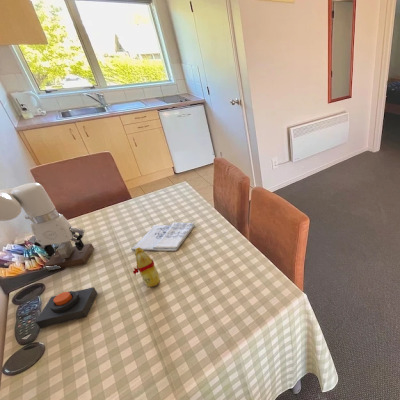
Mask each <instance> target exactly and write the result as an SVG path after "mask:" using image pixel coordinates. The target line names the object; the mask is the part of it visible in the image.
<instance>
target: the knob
mask: <svg viewBox="0 0 400 400" xmlns="http://www.w3.org/2000/svg"><path fill="white" fill-rule="evenodd" d="M73 246H74V245H73V244H72V241H71V240H70V241H67V242H62V243H61V244H60V245H59V247H58V248H56V250H57V251H58V252H59V254H60V255H61V257H62V258H63V259H64V258H69V257H70V255H71V254H72V252H73V251H74V247H73Z"/></svg>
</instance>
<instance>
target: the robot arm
mask: <svg viewBox="0 0 400 400" xmlns="http://www.w3.org/2000/svg"><path fill="white" fill-rule="evenodd" d="M22 210H23V211H24V212H25V214H26V215H24V219H25V220H30V222H29V225H30V229H31V232H32V234H33V236H32V237H30V238H29V239H28V240H27V241H28V242H29V243H31V244H32V245H34V246H35V247H38V248H40V249H42V250H44V252H45V254H47V255H48V257H52V255H53V254H54V253H55V251H56V249H55V248H53V247H52V245H51V244H57V243H62V242H67V241H70V242H74V246H76V247H77V249H78V250H79V251H81V250H82V249H83V247H84V245H85V243H84V241H83V240H82V239H83V237H84V235H85V231H86V230H85V229H84V228H78V227H73V225H72V224H71V223H70V221H69V220H68V219H67V218H66V217H65V216H64V215H63V214H62V213H61V214H60V213H59V211H58V209H57V208H56V206H55V204H54V203H53V200H52V199H51V197H50V196H49V194H48V193H47V191H46V189H45V188H44V186H43V185H42V184H40V183H38V182H27V183H24V184H20V185H18V186H16V187H11V188H3V189H0V222H5V221H10V220H13V219H16V218H17V217H19V216H20V214H21V212H22Z"/></svg>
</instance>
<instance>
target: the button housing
mask: <svg viewBox="0 0 400 400" xmlns="http://www.w3.org/2000/svg"><path fill="white" fill-rule="evenodd" d="M68 292H69V293H70V294H71V296H72V299H71V300H70V301H69V302H67V303H65V304H63V305H60V306H58V305H56V304H55V302H54V301H53V300H54V298H55V297H56V296H57V295H53V296H51V297H50V298H49V300H48V301H47V303H46V304H45V306H44V308H43V309H42V310H41V312H40V314H39V315H38V317H37V318H36V320H35V324H36V325H37V326H38V328H40V329H44V328H48V327H52V326H56V325H60V324H64V323H68V322H72V321H77V320H80V319H84V318H87V317H88V315H89V313H90V311H91V309H92V307H93V305H94V302H95V300H96V299H97V296H98V294H99V293H98V291H97V289H96V288H95V287H94V286H92V287H87V288H84V289H80V290H70V291H68Z"/></svg>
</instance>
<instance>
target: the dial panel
mask: <svg viewBox="0 0 400 400" xmlns="http://www.w3.org/2000/svg"><path fill="white" fill-rule="evenodd" d="M73 247H74V251H73V252H72V254H71V255H70V257H69V258H64V259H63V258H62V257H61V255H60V254H59V252H58V251H57V249H55V252H54V253H55V255H54V254H53V255H52V256H50V257H49V259H48V260H47V262H46V263H45V264H44V267H45V266H54V265H57V266H60V267H61V268H60V269H55V270H51V271H50V272H54V271H58V270H63V269H67V268H68V269H69V268H74V267H78V266H83V265H86V263H87V262H88V261H89V259H90V257H91V255H92V254H93V252H94V251H95V247H94V245H93V243H92V242H91V243H84V247H83V249H82V250H81V251H79V250H78V249H77V247H76V245H73Z"/></svg>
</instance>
